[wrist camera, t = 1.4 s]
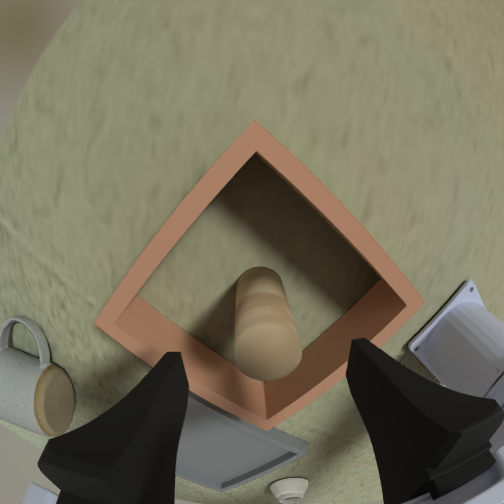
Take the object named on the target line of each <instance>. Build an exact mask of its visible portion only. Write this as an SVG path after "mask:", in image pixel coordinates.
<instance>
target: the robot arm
mask: <svg viewBox="0 0 504 504" xmlns="http://www.w3.org/2000/svg"><path fill="white" fill-rule="evenodd" d="M408 348H409V349H410V350H411V352H412V353H413V354H414V355H415V356H416V357H417V358H418V359H419V360H420V361H421V362H422V363H423V364H424V365H425V366H426V367H427V368H428V370H429V371H430V372H431V373H432V374H433V375H434V376H435V377H436V378H437V379H438V380H439V381H440V383H441V384H444V385H445V386H446V387H447V388H446V387H443V386H441V385H438V384H436V383H434V382H432V381H430V380H428V379H426V378H424V377H422V376H420V375H418V374H416V373H415V372H413V371H411V370H410V369H408V368H406V367H405V366H403V365H402V364H400V363H399V362H397V361H396V360H395V359H393V358H392V357H390V356H389V355H388V354H386V353H385V352H384V351H382V350H381V349H380V348H378V347H377V346H376V345H374V344H373V343H372V342H370V341H369V340H367V339H366V338H358V339H352V340H351V347H350V353H349V358H348V364H347V369H346V378H347V381H348V385H349V388H350V392H351V395H352V397H353V399H354V401H355V404H356V406H357V408H358V411H359V413H360V415H361V417H362V420H363V422H364V424H365V426H366V429H367V431H368V434H369V436H370V439H371V443H372V446H373V450H374V454H375V458H376V462H377V466H378V470H379V475H380V481H381V486H382V493H383V501H384V504H503V503H504V323H502V322H501V321H500V320H499V319H498V318H496V317H495V316H494V315H493V314H491V313H490V312H489V311H488V310H486V309H485V306H484V304H483V302H482V300H481V297H480V295H479V293H478V291H477V289H476V287H475V285H474V283H473V281H472V280H470V279H468V280H467V281H466V282H465V283H464V284H463V285H462V287H461V288H460V289H459V290H458V291H457V293H456V294H455V295H454V296H453V297H452V298H451V299H450V301H449V302H448V303H447V304H446V305H445V306H444V307H443V308H442V310H441V311H440V312H439V313H438V314H437V315H436V316H435V317H434V318H433V319H432V320H431V321H430V322H429V323H428V324H427V325H426V326H425V327H424V328H423V329H422V330H421V331H420V332H419V333H418V334H417V335H416V336H415V337H414V338H413V339H412V340H411V341H410V342H409V344H408ZM188 395H189V383H188V379H187V375H186V371H185V367H184V363H183V359H182V355H181V352H166V353H165V354H164V355H163V357H162V358H161V359H160V360H159V361H158V362H157V364H156V365H155V366H154V367H153V368H152V369H151V370H150V372H149V373H148V374H147V375H146V376H145V377H144V378H143V379H142V380H141V381H140V383H139V384H138V385H137V386H136V387H135V388H134V389H133V390H132V391H130V392H129V393H128V394H127V395H126V396H125V397H124V398H123V399H122V400H121V401H119V402H118V403H117V404H116V405H114V406H113V407H112V408H110V409H109V410H108V411H106V412H105V413H103V414H102V415H100V416H99V417H97V418H95V419H94V420H92V421H91V422H89V423H87V424H85V425H83V426H81V427H79V428H77V429H75V430H73V431H71V432H68V433H66V434H63V435H60V436H58V437H55V438H52V439H49V441H48V442H47V444H46V446H45V448H44V450H43V453H42V455H41V457H40V459H39V461H38V467H39V469H40V471H41V472H42V473H43V474H44V475H45V476H46V477H47V478H48V479H49V480H50V481H52V483H54V484H55V485H56V486H57V487H58V488H59V489H60V490H61V491H60V494H59V495H57V494H56V493H54V492H52V491H50V490H48V489H46V488H43V487H41V486H39V485H37V484H35V483H33V482H32V483H30V485H29V487H28V489H27V492H26V494H25V497H24V499H23V502H22V504H174V497H175V472H176V460H177V452H178V446H179V441H180V437H181V432H182V428H183V424H184V419H185V415H186V410H187V405H188Z"/></svg>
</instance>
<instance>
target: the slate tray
mask: <svg viewBox="0 0 504 504" xmlns="http://www.w3.org/2000/svg"><path fill="white" fill-rule="evenodd" d="M308 453H309V450H308V445H307V442H306V441H304V440H301V439H299V438H296V437H294V436H292V435H289V434H287V433H285V432H283V431H280V430H278V429H276V428H274V427H273V428H271V429H270V430H268V431H266V430H264V429H262V428H260V427H257V426H255V425H253V424H251V423H249V422H247V421H245V420H243V419H241V418H239V417H237V416H235V415H233V414H231V413H229V412H227V411H225V410H223V409H222V408H220V407H218V406H216V405H214V404H212V403H211V402H209V401H207V400H205V399H203V398H202V397H200V396H198V395H196V394H195V393H193V392H191V391H190V390H189V395H188V405H187V410H186V415H185V419H184V424H183V428H182V432H181V437H180V441H179V446H178V452H177V460H176V472H175V476H178V477H180V478H183V479H185V480H188V481H191V482H193V483H196V484H199V485H202V486H204V487H207V488H210V489H213V490H217V491H220V492H224V491H227V490H230V489H232V488H235V487H238V486H240V485H243V484H245V483H248V482H250V481H252V480H255V479H257V478H259V477H262V476H264V475H266V474H268V473H270V472H272V471H275V470H277V469H279V468H281V467H283V466H285V465H287V464H289V463H291V462H293V461H295V460H296V459H298V458H300V457H302V456H304V455H306V454H308Z"/></svg>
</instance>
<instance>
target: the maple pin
mask: <svg viewBox="0 0 504 504" xmlns="http://www.w3.org/2000/svg"><path fill="white" fill-rule="evenodd" d="M301 358H302V347H301V344H300V340H299V337H298V334H297V330H296V327H295V323H294V320H293V317H292V313H291V310H290V307H289V303H288V300H287V297H286V293H285V290H284V287H283V284H282V280H281V278H280V276H279V275H278V274H277V273H276V272H275V271H273V270H272V269H269V268H266V267H254V268H251V269H249V270H247V271H245V272H244V273H243V274H242V275H241V276H240V278H239V279H238V282H237V286H236V308H235V334H234V362H235V364H236V366H237V368H238V369H239V371H240V372H242V373H243V374H244V375H246V376H248V377H250V378H252V379H256V380H262V381H270V380H276V379H279V378H282V377H284V376H286V375H288V374H290V373H291V372H292V371H293V370H295V368H296V367H297V366H298V365H299V363H300V361H301Z"/></svg>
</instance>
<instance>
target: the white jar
mask: <svg viewBox="0 0 504 504" xmlns="http://www.w3.org/2000/svg"><path fill="white" fill-rule="evenodd" d="M307 488H308V480H306V479H303V478H286V479H282V480H279V481H276V482H274V483H273V484H271V486H270V490H271V492H272V493H273V495H274V496H275V497H276V498H277V499H279V502H280V503H283V504H291V503H296V502H299V501H301V500H302V499H303V495H304V494H305V493H306V490H307Z"/></svg>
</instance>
